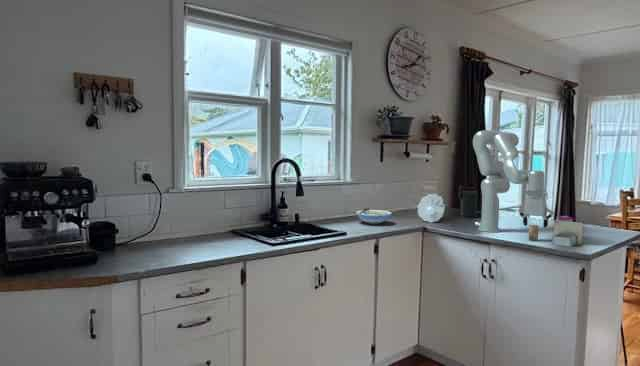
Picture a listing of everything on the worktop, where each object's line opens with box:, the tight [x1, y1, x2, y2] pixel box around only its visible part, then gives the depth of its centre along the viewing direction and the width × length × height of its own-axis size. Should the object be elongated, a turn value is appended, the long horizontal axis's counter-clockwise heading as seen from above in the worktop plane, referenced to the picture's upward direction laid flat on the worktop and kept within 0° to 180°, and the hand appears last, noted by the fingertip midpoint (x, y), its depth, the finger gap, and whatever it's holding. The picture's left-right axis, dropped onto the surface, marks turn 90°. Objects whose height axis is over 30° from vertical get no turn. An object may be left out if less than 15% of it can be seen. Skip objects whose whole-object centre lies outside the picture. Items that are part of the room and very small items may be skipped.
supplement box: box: [556, 215, 574, 222], centre depth 234 cm, size 6×6×12 cm
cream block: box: [551, 219, 584, 247], centre depth 217 cm, size 13×11×11 cm
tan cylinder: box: [528, 224, 540, 242], centre depth 224 cm, size 4×4×8 cm
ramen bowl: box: [356, 207, 392, 225], centre depth 272 cm, size 25×23×8 cm
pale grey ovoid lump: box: [417, 193, 446, 223], centre depth 287 cm, size 18×18×25 cm
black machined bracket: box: [457, 185, 478, 219], centre depth 307 cm, size 12×21×22 cm, turn 169°
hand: (535, 226), depth 223 cm, fingers open, 9 cm apart
